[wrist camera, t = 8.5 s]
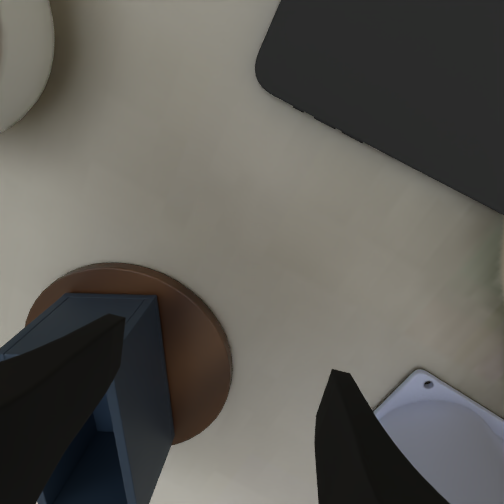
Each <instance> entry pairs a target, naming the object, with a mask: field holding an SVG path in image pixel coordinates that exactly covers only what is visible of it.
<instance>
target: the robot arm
mask: <svg viewBox="0 0 504 504" xmlns="http://www.w3.org/2000/svg"><path fill="white" fill-rule="evenodd" d="M125 320H126V317H122V316H118V315H114V314H110V313H108V314H106V315H104V316H102V317H100V318H98V319H96V320H94V321H92V322H90V323H89V324H87V325H85V326H83V327H81V328H79V329H77V330H75V331H73V332H71V333H69V334H67V335H65V336H63V337H61V338H58V339H56V340H54V341H52V342H49V343H47V344H45V345H43V346H40V347H38V348H36V349H34V350H31V351H29V352H26V353H23V354H21V355H18V356H15V357H12V358H9V359H6V360H3V361H0V504H36V502H37V500H38V498H39V496H40V495H41V493H42V491H43V489H44V487H45V485H46V484H47V482H48V480H49V478H50V476H51V475H52V473H53V471H54V469H55V468H56V466H57V464H58V462H59V461H60V459H61V457H62V456H63V454H64V453H65V451H66V449H67V448H68V446H69V445H70V443H71V442H72V441H73V439H74V438H75V436H76V435H77V434H78V432H79V431H80V429H81V428H82V426H83V425H84V424H85V422H86V421H87V419H88V418H89V417H90V415H91V414H92V412H93V411H94V410H95V408H96V407H97V405H98V404H99V402H100V401H101V400H102V398H103V397H104V395H105V394H106V392H107V391H108V389H109V387H110V385H111V383H112V382H113V380H114V378H115V376H116V374H117V372H118V370H119V368H120V366H121V357H122V348H123V338H124V329H125ZM427 381H431V383H430V384H424V383H425V382H427ZM315 458H316V473H317V487H318V500H319V504H504V419H502V418H500V417H499V416H497V415H496V414H494V413H492V412H491V411H489V410H488V409H486V408H484V407H483V406H481V405H480V404H478V403H476V402H475V401H473V400H472V399H470V398H468V397H467V396H465V395H464V394H462V393H460V392H459V391H457V390H456V389H454V388H452V387H451V386H449V385H448V384H446V383H444V382H443V381H441V380H440V379H438V378H436V377H435V376H433V375H432V374H430V373H428V372H427V371H425V370H420V369H419V370H415V371H414V372H413V373H412V374H411V375H410V376H409V377H408V378H407V379H406V380H405V381H404V382H403V383H402V384H401V385H400V386H399V387H398V388H397V389H396V390H395V391H394V392H393V393H392V394H391V395H390V396H389V397H388V398H387V399H386V400H385V401H384V402H383V403H382V404H381V405H380V406H379V407H378V408H377V409H376V410H375V411H374V412H373V411H372V410H371V408H370V406H369V405H368V403H367V401H366V400H365V398H364V396H363V395H362V393H361V391H360V390H359V388H358V386H357V384H356V383H355V381H354V379H353V378H352V376H351V374H350V373H346V372H342V371H338V370H334V369H332V371H331V374H330V377H329V380H328V383H327V386H326V388H325V391H324V394H323V397H322V400H321V403H320V406H319V409H318V412H317V415H316V426H315Z"/></svg>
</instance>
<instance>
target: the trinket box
mask: <svg viewBox="0 0 504 504" xmlns="http://www.w3.org/2000/svg"><path fill="white" fill-rule="evenodd" d="M54 41H55V35H54V24H53V16H52V12H51V7H50V3H49V0H0V133H2V132H3V131H5V130H7V129H8V128H10V127H12V126H13V125H14V124H15V123H17V122H18V121H19V120H20V119H22V118H23V117H24V116H25V115H26V113H27V112H28V111H29V110H30V109H31V108H32V106H33V105H34V104H35V103H36V102H37V101H38V99H39V97H40V95H41V94H42V92H43V90H44V88H45V86H46V83H47V81H48V78H49V75H50V72H51V67H52V62H53V57H54Z"/></svg>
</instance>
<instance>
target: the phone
mask: <svg viewBox="0 0 504 504" xmlns="http://www.w3.org/2000/svg"><path fill="white" fill-rule="evenodd" d="M255 73H256V77H257V80H258V82H259V84H260V85H261V86H262V87H263V88H264V89H265V90H266V91H267V92H269V93H270V94H272V95H273V96H275V97H277V98H279V99H281V100H283V101H285V102H287V103H289V104H290V105H292V106H293V108H295V109H297V110H299V111H301V112H306V113H308V114H310V115H312V116H314V118H315V119H317V120H319V121H321V122H322V123H324V124H326V125H328V126H330V127H332V128H334V129H335V128H337V129H339V130H341V131H342V133H344V134H346V135H348V136H350V137H351V138H353V139H355V140H357V141H359V142H361V143H363V142H364V143H366V144H368V145H370V146H372V147H373V148H375V149H377V150H379V151H381V152H383V153H385V154H387V155H389V156H391V157H393V158H395V159H397V160H399V161H401V162H402V163H404V164H406V165H408V166H410V167H412V168H414V169H416V170H418V171H420V172H422V173H424V174H426V175H428V176H429V177H431V178H433V179H435V180H437V181H439V182H441V183H443V184H445V185H447V186H449V187H451V188H453V189H455V190H457V191H458V192H460V193H462V194H464V195H466V196H468V197H470V198H472V199H474V200H476V201H478V202H480V203H482V204H484V205H485V206H487V207H489V208H491V209H493V210H495V211H497V212H499V213H501V214H503V215H504V0H281V2H280V4H279V6H278V9H277V11H276V13H275V15H274V18H273V20H272V22H271V25H270V27H269V29H268V32H267V34H266V36H265V39H264V41H263V43H262V46H261V48H260V50H259V53H258V56H257V59H256V64H255Z"/></svg>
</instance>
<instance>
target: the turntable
mask: <svg viewBox="0 0 504 504" xmlns="http://www.w3.org/2000/svg"><path fill="white" fill-rule="evenodd" d="M65 293H90V294H131V295H157V300H158V308H159V316H160V324H161V332H162V339H163V347H164V355H165V363H166V371H167V379H168V386H169V394H170V402H171V410H172V418H173V426H174V433H175V437H174V439H173V441H172V444H171V445H175V444H178V443H181V442H184V441H186V440H189V439H191V438H192V437H194V436H196V435H198V434H199V433H201V432H202V431H203V430H204V429H206V428H207V427H208V426H209V425H210V424H211V423H212V422H213V421H214V420H215V419H216V418H217V416H218V415H219V413H220V412H221V410H222V408H223V406H224V404H225V402H226V399H227V396H228V392H229V389H230V385H231V380H232V357H231V352H230V347H229V344H228V341H227V338H226V336H225V333H224V331H223V329H222V328H221V326H220V324H219V322H218V320H217V319H216V317H215V316H214V315H213V313H212V312H211V310H210V309H209V308H208V307H207V306H206V305H205V304H204V303H203V301H202V300H201V299H200V298H198V297H197V296H196V295H195V294H194V293H193V292H192V291H190V290H189V289H188V288H186V287H185V286H183V285H182V284H180V283H179V282H178V281H176V280H174V279H172V278H170V277H168V276H166V275H164V274H162V273H159V272H157V271H154V270H152V269H149V268H145V267H141V266H138V265H132V264H125V263H100V264H92V265H88V266H85V267H81V268H78V269H76V270H73V271H71V272H69V273H67V274H65V275H64V276H62V277H60V278H59V279H57V280H56V281H55V282H53V283H52V284H51V285H50V286H49V287H47V288H46V289H45V290H44V291H43V292H42V293H41V294H40V296H39V297H38V298H37V299H36V301H35V302H34V304H33V306H32V308H31V309H30V312H29V314H28V317H27V320H26V324H25V327H26V326H27V325H28V324H30V323H31V322H32V321H33V320H34V319H35V318H37V317H38V316H39V315H40V314H41V313H43V312H44V311H45V310H46V309H47V308H49V307H50V306H51V305H52V304H53V303H54V302H56V301H57V300H58V299H59V298H60V297H62V296H63V295H64V294H65Z"/></svg>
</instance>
